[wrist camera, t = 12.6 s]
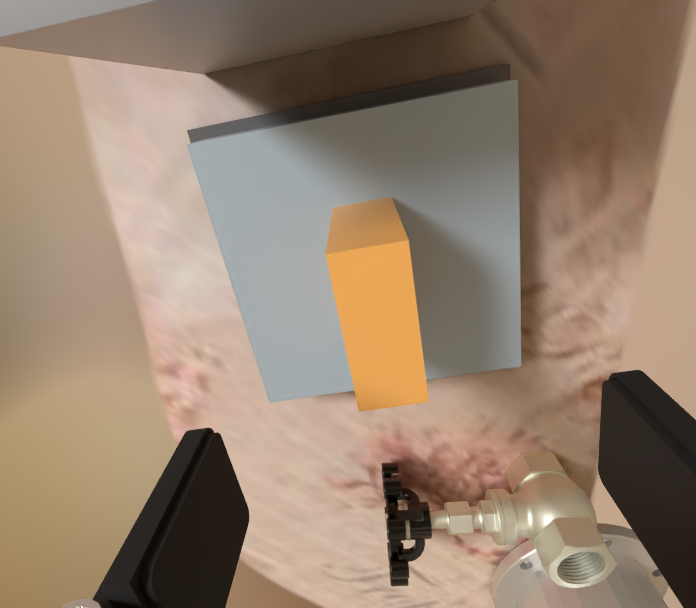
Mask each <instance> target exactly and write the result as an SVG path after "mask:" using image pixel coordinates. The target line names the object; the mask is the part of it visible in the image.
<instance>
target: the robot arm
mask: <svg viewBox="0 0 696 608" xmlns="http://www.w3.org/2000/svg"><path fill="white" fill-rule="evenodd" d="M598 471H599V475H600V478H601V481H602V483H603V485H604V486H605V488H606V489H607V491H608V493H609V494H610V496H611V497H612V499H613V500H614V502H615V503H616V505H617V506H618V508H619V509H620V511H621V512H622V514H623V516H624V517H625V518H626V520H627V522H628V523H629V525H630V526H631V528H632V529H633V530H631V529H628V528H625V527H621V526H615V525H609V524H597V530H598V531H599V533H600V534H601V536H602V537H603V539H604V541H605V543H606V544H607V546H608V548H609V550H610V551H611V553H612V555H613V557H614V558H615V560H616V562H617V565H616V567H615V568H614V570H613V571H612V572H611V573H610V574H609V575H608V576H607V577H606V578H605V579H604V580H602V581H600V582H598V583H596V584H594V585H591V586H587V587H581V588H567V587H561V586H557V585H556V584H555V583H554V582H553V580H552V579H551V578H550V577H549V575H548V574H547V572H546V571H545V569H544V568H543V566H542V563H541V561H540V558H539V556H538V553H537V551H536V549H535V546H534V544H533V542H532V541H531V540H530V539H529V540H527V541H525V542H523V543H522V544H520V545H519V546H517V547H516V548H515V549H513V550H512V551H511V552H510V553H509V554H508V555H507V556H506V557H505V558H504V559H503V560H502V561H501V562H500V564H499V565H498V567H497V568H496V570H495V571H494V574H493V577H492V580H491V594H492V598H493V602H494V606H495V608H668V607H667V605H666V604H665V602H664V600H663V599H662V598H663V596H664V595H665V593H666V591H667V588H668V585H669V586H670V588H671V589H672V590H673V592H674V594H675V595H676V597H677V598H678V600H679V601H680V603H681V604H682V606H683V608H696V420H695V419H694V418H693V417H692V416H691V415H690V414H689V413H687V412H686V411H685V410H684V409H683V408H682V407H681V406H680V405H679V404H677V402H675V401H674V400H673V399H672V398H671V397H670V396H669V395H668V394H667V393H666V392H664V391H663V390H662V389H661V388H660V387H659V386H658V385H657V384H656V383H655V382H654V381H652V380H651V379H650V378H649V377H648V376H647V375H646V374H645V373H644V372H642V371H640V370H633V371H626V372H618V373H613V374H611V375H610V377H609V380H607V381H604V382H603V385H602V402H601V422H600V441H599V461H598ZM248 523H249V510H248V506H247V504H246V501H245V498H244V496H243V493H242V490H241V488H240V485H239V482H238V480H237V477H236V474H235V472H234V469H233V466H232V464H231V461H230V458H229V456H228V453H227V450H226V448H225V445H224V442H223V440H222V437H221V435H220V434H219V433H214V431H213V430H212V429H211V428H203V429H196V430H189V431H187V432H186V433H185V434H184V436H183V438H182V440H181V441H180V443H179V445H178V447H177V448H176V450H175V452H174V454H173V456H172V458H171V459H170V461H169V463H168V465H167V467H166V468H165V470H164V472H163V474H162V476H161V477H160V479H159V481H158V483H157V485H156V486H155V488H154V490H153V492H152V494H151V495H150V497H149V499H148V501H147V502H146V504H145V506H144V508H143V510H142V511H141V513H140V515H139V517H138V519H137V521H136V522H135V524H134V526H133V528H132V529H131V531H130V533H129V535H128V537H127V538H126V540H125V542H124V544H123V546H122V548H121V549H120V551H119V553H118V555H117V556H116V558H115V560H114V562H113V564H112V565H111V567H110V569H109V571H108V573H107V575H106V576H105V578H104V580H103V582H102V583H101V585H100V587H99V589H98V591H97V593H96V594H95V596H94V598H93V600H92V599H79V600H76V601H73V602H70V603H68V604H66V605H64V606H62V607H60V608H225V606H226V603H227V599H228V595H229V592H230V588H231V585H232V581H233V578H234V574H235V570H236V567H237V563H238V560H239V556H240V552H241V549H242V545H243V542H244V538H245V534H246V531H247V527H248Z"/></svg>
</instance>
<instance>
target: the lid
mask: <svg viewBox="0 0 696 608" xmlns="http://www.w3.org/2000/svg"><path fill="white" fill-rule="evenodd" d="M187 147H188V150H189V153H190V156H191V159H192V162H193V165H194V169H195V172H196V175H197V178H198V181H199V184H200V187H201V190H202V193H203V197H204V200H205V203H206V206H207V209H208V212H209V215H210V218H211V221H212V225H213V228H214V231H215V234H216V237H217V240H218V243H219V246H220V250H221V253H222V256H223V259H224V262H225V265H226V268H227V271H228V274H229V278H230V281H231V284H232V287H233V290H234V293H235V296H236V299H237V302H238V306H239V309H240V312H241V315H242V318H243V321H244V324H245V327H246V330H247V334H248V337H249V340H250V343H251V346H252V349H253V352H254V355H255V358H256V362H257V365H258V368H259V371H260V374H261V377H262V380H263V383H264V386H265V390H266V393H267V396H268V399H269V402H277V401H284V400H291V399H298V398H305V397H312V396H319V395H326V394H333V393H340V392H347V391H355V395H356V400H357V405H358V409H359V411H366V410H374V409H381V408H388V407H395V406H402V405H409V404H417V403H424V402H429V399H428V391H427V383H426V380H430V379H437V378H444V377H451V376H458V375H465V374H472V373H479V372H486V371H493V370H500V369H507V368H514V367H521V295H520V203H519V110H518V79H515V80H504V81H497V82H492V83H487V84H482V85H476V86H471V87H466V88H461V89H456V90H451V91H446V92H441V93H436V94H431V95H426V96H421V97H416V98H411V99H406V100H400V101H395V102H390V103H385V104H380V105H375V106H370V107H365V108H360V109H355V110H350V111H345V112H340V113H335V114H330V115H324V116H319V117H314V118H309V119H304V120H299V121H294V122H289V123H284V124H279V125H274V126H269V127H264V128H259V129H254V130H248V131H243V132H238V133H233V134H228V135H223V136H218V137H213V138H208V139H203V140H200V141H197V142H193V143H190V144H187Z"/></svg>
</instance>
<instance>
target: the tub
mask: <svg viewBox="0 0 696 608" xmlns="http://www.w3.org/2000/svg"><path fill="white" fill-rule="evenodd" d="M494 1H495V0H0V46H4V47H11V48H19V49H26V50H33V51H40V52H47V53H54V54H62V55H69V56H76V57H83V58H91V59H98V60H105V61H112V62H119V63H127V64H134V65H141V66H148V67H156V68H163V69H170V70H177V71H185V72H192V73H199V74H206V73H210V72H215V71H220V70H224V69H229V68H233V67H238V66H242V65H247V64H252V63H256V62H261V61H265V60H270V59H275V58H279V57H284V56H288V55H293V54H297V53H302V52H307V51H311V50H316V49H320V48H325V47H330V46H334V45H339V44H343V43H348V42H352V41H357V40H362V39H366V38H371V37H375V36H380V35H385V34H389V33H394V32H398V31H403V30H407V29H412V28H417V27H421V26H426V25H430V24H435V23H440V22H444V21H449V20H453V19H458V18H462V17H467V16H472V15H474V14H475V13H477V12H478V11H480V10H481V9H483V8H484V7H486V6H487V5H489V4H490V3H492V2H494Z"/></svg>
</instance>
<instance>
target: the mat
mask: <svg viewBox="0 0 696 608" xmlns="http://www.w3.org/2000/svg"><path fill="white" fill-rule="evenodd" d="M504 80H510V65H509V64H505V65H500V66H495V67H490V68H486V69H481V70H476V71H471V72H466V73H461V74H457V75H452V76H447V77H442V78H437V79H433V80H428V81H423V82H418V83H413V84H408V85H404V86H399V87H394V88H389V89H384V90H379V91H375V92H370V93H365V94H360V95H355V96H351V97H346V98H341V99H336V100H331V101H326V102H322V103H317V104H312V105H307V106H302V107H298V108H293V109H288V110H283V111H278V112H273V113H269V114H264V115H259V116H254V117H249V118H244V119H240V120H235V121H230V122H225V123H220V124H216V125H211V126H206V127H201V128H196V129H191V130H187V132H188V135H189V138H190V141H191V143H193V142H197V141H200V140H203V139H208V138H213V137H218V136H223V135H228V134H233V133H238V132H243V131H248V130H254V129H259V128H264V127H269V126H274V125H279V124H284V123H289V122H294V121H299V120H304V119H309V118H314V117H319V116H324V115H330V114H335V113H340V112H345V111H350V110H355V109H360V108H365V107H370V106H375V105H380V104H385V103H390V102H395V101H400V100H406V99H411V98H416V97H421V96H426V95H431V94H436V93H441V92H446V91H451V90H456V89H461V88H466V87H471V86H476V85H482V84H487V83H492V82H497V81H504Z"/></svg>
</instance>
